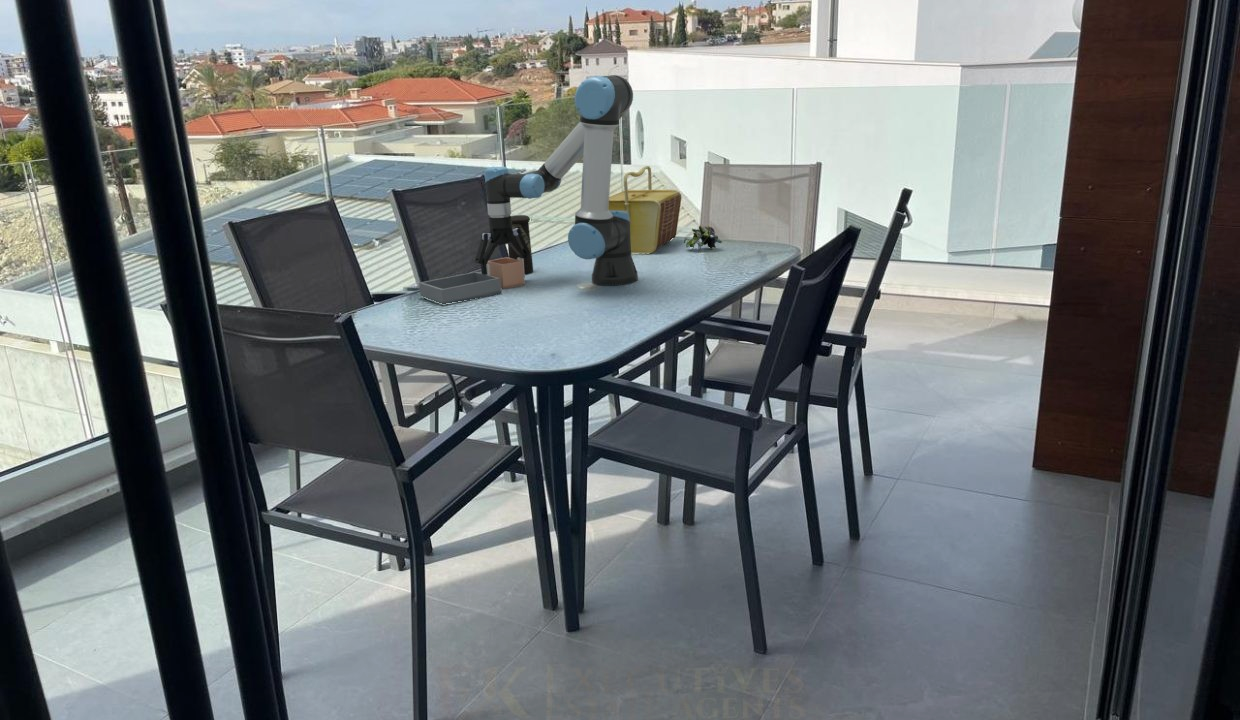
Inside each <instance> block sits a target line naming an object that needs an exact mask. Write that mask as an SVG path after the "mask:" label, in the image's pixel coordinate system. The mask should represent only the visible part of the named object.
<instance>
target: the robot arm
mask: <svg viewBox="0 0 1240 720" xmlns="http://www.w3.org/2000/svg"><path fill="white" fill-rule="evenodd" d="M575 90H576V91H575V93H574V105H575V109H576V110H577V111H578V113H579V115H580V116H579V118H580V119H579V121H578V123H577V124H576V126H575V127H574V128H573V129H572V130H571V131H570V132H569V134H568V135H567V136H566V137H565V139H564V140H563V141H562V142H561V143H560V144H559V145H558V146H557V148H556V149H554V151H553V152H552V153H551V154H550V155H549V157H548V158H547V159H546V160H545V162H544V163H543V164H542V165H541V166H540V167H539V169H537V170H534V171H529V172H526V173H509V168H508V167H506V166H492V167H487V168H486V169H485V170H484V185H485V186H484V187H485V192H486V193H485V194H486V206H487V215H488V216H489V217H488V218H487V219H488V227H489V233H485V232H481V233H480V241H479V242H480V243H479V246H478V249H477V252H476V256H475V259H474V262H475V263H476V264H479V265H480V269H481V270H480V271H481V272H480V273H482V274H487V275H490V269H489V264H487V262H488V261H490V259H491V257H492V255H493V253H494V252H495V250H496V248H497V247H498V246H502V245H508V244H509V245H510V246H511V247H512V248H513V250H514V251H515V252H516V253H517V254H518V255H519V257H520V258H517V260H521V261H523V270H524V267H526V260H525V258H527V256H528V255H530V251H529V249H528V247H527V245H526V243H525V241H524V239H523V237H522V235H521V229H519V228H514V229H513V230H512V217H511V216H512V215H511V214H512V205H511V198H512V199H514V198H515V199H516V198H517V199H528V200H531V199H538V198H541V197H542V195H543V194H545V193H551V192H554V191H555V190H557V189H558V188H559V187H560V185H561V183H562V179H563V178H564V177H565V176H566V174H567V173H568V172H569V171H570V170H571V169H572V167H574V165H575V164H576V163H577V162H578V161H579V160H580V159H581V158H582V157H583V158H582V173H581V174H582V177H581V192H580V194H581V195H580V208H579V209H578V210H577V211H576V212H575V215H574V224H573V226H571V228H570V229H569V231H568V235H567V244H568V246H569V248H570V249H571V252H573V253H574V254H575V255H576V256H577V257H578V258H581V259H583V260H593V259H595V261H594V265H593V270H592V274H591V282H592V283H593V284H595V285H599V286H601V285H602V286H621V285H622V286H623V285H627V284H632V283H635V282H637V281H638V280H639V277H638V276H639V275H638V270H637V268H636V264H635V263H634V259H633V257H632V254H631V237H630V219H629V213H628V212H627V211H609V209H608V208H609V197H610V189H611V177H612V176H611V175H612V161H613V160H612V158H613V141H614V131H615V130H616V129H617V127H619V126H620V120H621V118H622V117H623V116H624V115H625V114H626V113H627V112H628V111H629V109H630V108H631V106H632V104H633V101H634V91H633V88H632V86H631V84H630V82H629V81H628V80H627V79H625V78H624V77H622V76H620V75H615V74H613V75H612V74H611V75H594V76H592V77H589V78H585V79H584V80H582V82H581V83H580V84H579V85H578V87H577V89H575ZM513 234H514V235H515V237H516V239H517V241H518V243H519V245H520V247H521V249H522V250H521V249H520V248H519V247H518V245H517V244H516V243H515V241H514V240H513V239H512V238H511V237H512V235H513ZM489 240H490V241H489ZM525 278H526V274H525V272H524V279H525Z"/></svg>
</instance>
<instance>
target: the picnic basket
mask: <svg viewBox="0 0 1240 720" xmlns="http://www.w3.org/2000/svg"><path fill="white" fill-rule="evenodd" d="M646 170H647V178H648V179H647V181H648V182H647V184H648V185H647V186H648V189H628V187H629V186H628V177H629V176H631V177H635V178H637V177H641V176H642V175H643V174H644V173H645V171H646ZM652 188H653V187H652V169H651V167H650V166H649V165H646V166H643V167H641V169H640V170H638V171H637V172H633V171H628V172H626V173H625V174H624V175H623V191H621V192H619V193H615V194H612V195H611V196H610V195H609V208H608V209H609V211H627V212H628V213H629V219H630V237H631V253H651V254H652V253H654V252H655V251H656V250H657V249H658V248H659V249H660V247H662V246H664V245H666V244H667V243H669V242H668V241H670V240H671V239H672V238H674V239H675V238H676V237H677V231H678V224H679V218H680V210H681V204H682V203H681V202H682V193H680V191H678V190H676V189H652ZM670 242H671V241H670Z"/></svg>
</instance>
